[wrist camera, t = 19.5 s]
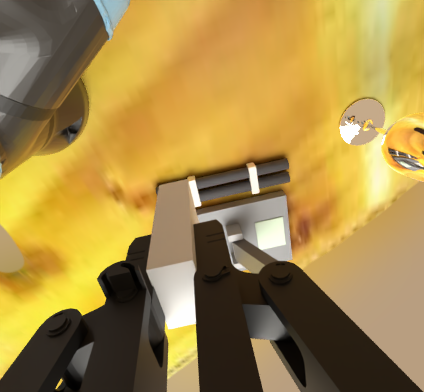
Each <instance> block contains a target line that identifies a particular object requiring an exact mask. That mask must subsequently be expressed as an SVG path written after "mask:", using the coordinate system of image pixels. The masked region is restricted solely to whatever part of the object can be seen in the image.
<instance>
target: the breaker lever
mask: <svg viewBox="0 0 424 392" xmlns="http://www.w3.org/2000/svg"><path fill="white" fill-rule="evenodd" d="M232 245H233V250H234V255H235V258H236V261H237V262H238V263H240V264H241V265H242V266H243V267H245V268H246V269H247V270H249V271H250V272H251V273H259V272H260V270H261V269H262V268H263V267H264V266H265V265H267V264H269V263H271V262H275V261H278V260H276V259H275V258H273V257H272V256H270V255H268V254H267V253H265V252H264V251H262V250H261V249H259V248H258V247H256V246H255V245H253V244H251V243H250V242H248V241H247V240H245V239H244V238H243V239H242V240H237V241H233V242H232Z"/></svg>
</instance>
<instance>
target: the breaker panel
mask: <svg viewBox="0 0 424 392" xmlns="http://www.w3.org/2000/svg"><path fill="white" fill-rule="evenodd" d="M196 213H197V216H198V220H199V223H201V222H206V221H210V220H215V219H216V220H218V221H219V222H220V223H221V224H222V225H223V229H224V233H225V238H226V242H227V246H228V250H229V254H230V258H231V262H232V264H233V266H234V267H235V268H236V269H238V270H240V271H243V270H247V269H246V268H245V267H243V266H242V265H241V264H240V263H238V262H237V261H236V258H235V255H234V250H233V245H232V242H233V241H237V240H242V239H243V238H244V239H245V240H247V241H248V242H250V243H251V244H253V245H255V246H256V247H258V248H259V249H261V250H262V251H264V252H265V253H267V254H268V255H270V256H272V257H273V258H275V259H276V260H278V261H288V260H292V251H291V241H290V231H289V220H288V210H287V200H286V195H285V193H284V192H283V190H282V191H277V192H273V193H269V194H264V195H260V196H255V197H251V198H246V199H242V200H237V201H233V202H228V203H224V204H219V205H215V206H210V207H206V208H201V209H197V210H196Z"/></svg>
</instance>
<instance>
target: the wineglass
mask: <svg viewBox="0 0 424 392" xmlns="http://www.w3.org/2000/svg"><path fill="white" fill-rule="evenodd" d="M384 122H385V111H384V109H383V106H382V105H381V104H380V103H379V102H378V101H376V100H373V99H362V100H359V101H357V102H355V103H353V104H352V105H350V106H349V107H348V108H347V109H346V111H345V112H344V114H343V116H342V117H341V120H340V125H339V131H340V135H341V137H342V139H343V140H344V141H345V142H346V143H348V144H350V145H354V146H360V145H364V144H367V143H369V142H370V141H372V140H373V139H374V138H376V137H377V136H378V134H379V133H382V134H384V137H383V139H382V150H381V151H382V156H383V158H384V160H385V161H386V163H387V164H388V165H389V167H391V168H392V169H393V170H395V171H396V172H398V173H400V174H402V175H404V176H407V177H409V178H412V179H415V180H419V181H423V182H424V113H415V114H410V115H407V116H404V117H402V118H401V119H399V120H398V121H396V122H395V123H393V124H392V125H391V126H390V127H389V128H388V130H386V129H383V125H384Z"/></svg>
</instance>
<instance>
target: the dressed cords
mask: <svg viewBox="0 0 424 392" xmlns="http://www.w3.org/2000/svg"><path fill="white" fill-rule="evenodd" d="M246 166H247V167H245V168H241V169H236V170H232V171H227V172H223V173H218V174H214V175H209V176H205V177H200V178H196V179H195V175H194V176H189V177H187V178H188V182H189V185H190V189H191V193H192V197H193V201H194V205H195V207H198V206H201V202H202V201H206V200H211V199H215V198H220V197H224V196H229V195H233V194H238V193H242V192H247V191H251V192H252V194H256V193H260V192H259V189H260V188H265V187H269V186H274V185H278V184H282V183H287V182H290V176H289V173H288V172H283V173H278V174H274V175H269V176H265V177H261V178H257V176H259V175H264V174H268V173H273V172H277V171H281V170H286V169H289V163H288V160H287V158H285V159H281V160H276V161H272V162H267V163H263V164H258V165H255V164H254V163H253V162H252V163H248V164H246ZM246 178H248V179H249V180H247V181H243V182H238V183H234V184H229V185H225V186H220V187H216V188H211V189H207V190H202V191H198V189H201V188H205V187H210V186H214V185H219V184H223V183H228V182H232V181H237V180H241V179H246ZM158 189H159V187H156V193H157V196H158Z"/></svg>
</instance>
